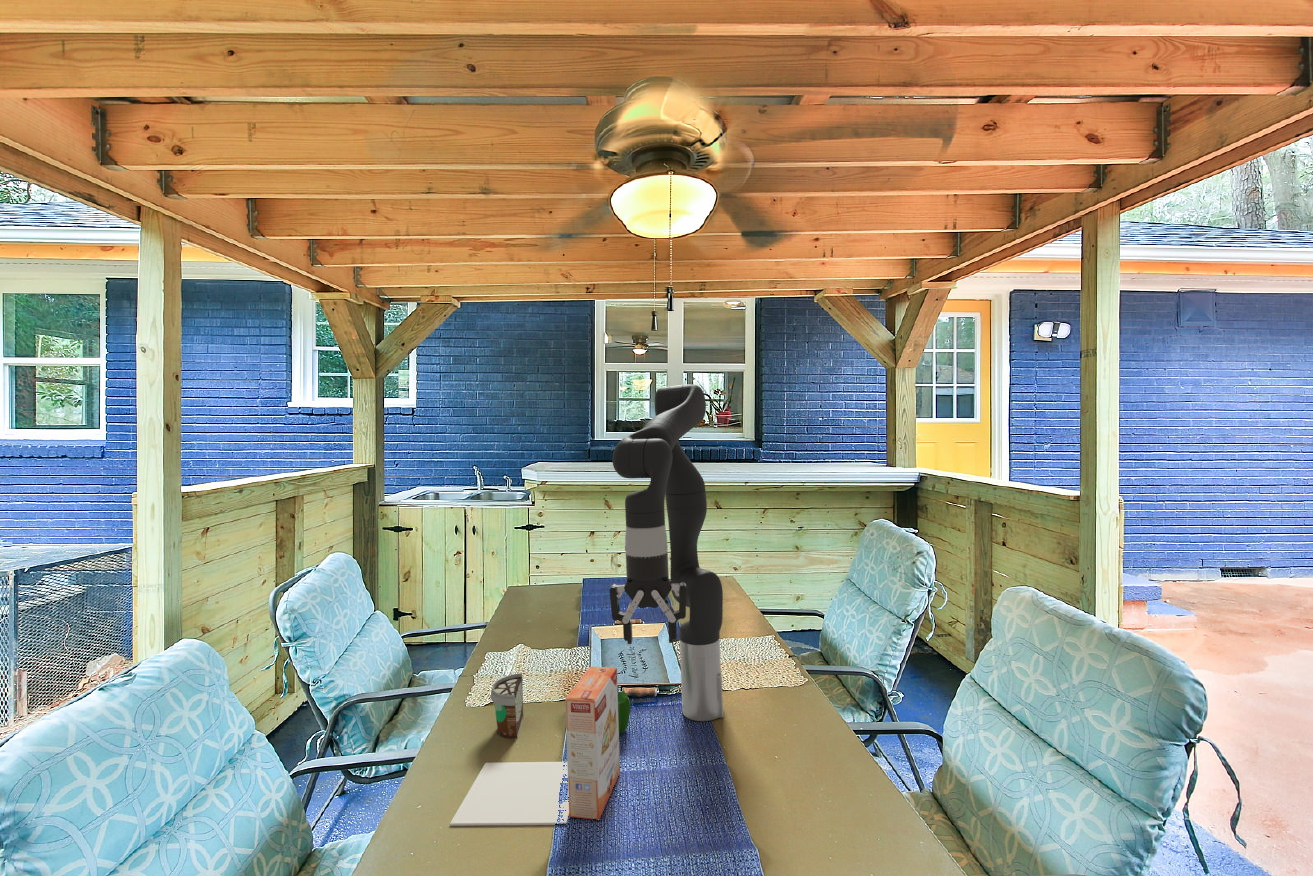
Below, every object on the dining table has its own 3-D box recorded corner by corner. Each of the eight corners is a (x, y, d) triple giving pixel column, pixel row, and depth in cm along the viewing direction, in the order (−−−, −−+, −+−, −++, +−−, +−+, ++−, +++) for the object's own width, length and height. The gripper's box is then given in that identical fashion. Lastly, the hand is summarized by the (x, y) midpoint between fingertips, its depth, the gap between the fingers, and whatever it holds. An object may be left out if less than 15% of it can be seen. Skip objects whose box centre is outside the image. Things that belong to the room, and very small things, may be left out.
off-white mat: (584, 763, 118) (584, 761, 118) (566, 824, 100) (566, 822, 100) (485, 764, 119) (485, 762, 119) (450, 825, 101) (450, 823, 101)
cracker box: (601, 822, 100) (596, 700, 100) (567, 819, 102) (562, 698, 101) (622, 773, 114) (618, 666, 114) (592, 771, 115) (588, 664, 115)
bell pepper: (614, 718, 136) (612, 675, 135) (638, 730, 130) (636, 685, 130) (585, 733, 130) (583, 687, 130) (609, 746, 124) (607, 699, 124)
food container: (497, 716, 139) (495, 674, 139) (524, 714, 139) (522, 672, 139) (487, 744, 127) (484, 698, 126) (516, 742, 127) (514, 696, 127)
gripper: (686, 544, 110) (690, 633, 110) (609, 547, 110) (613, 635, 111) (686, 553, 102) (690, 649, 102) (603, 556, 103) (607, 651, 103)
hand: (650, 641), depth 107 cm, fingers open, 7 cm apart
